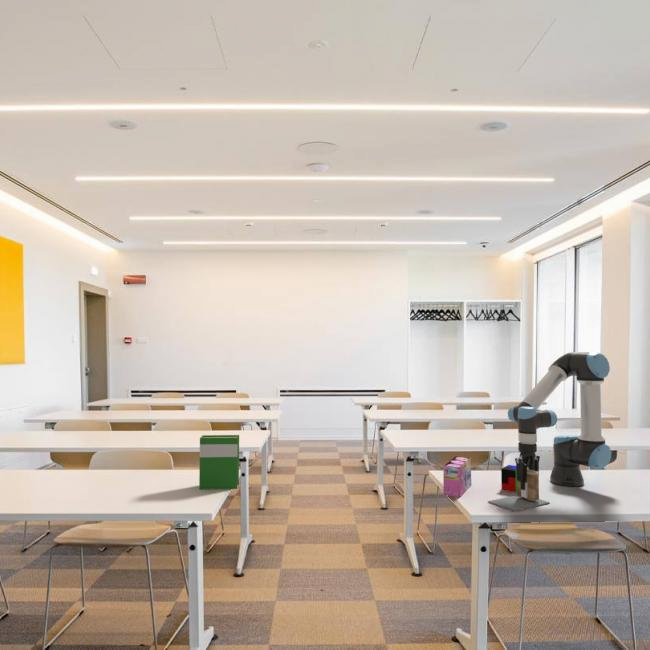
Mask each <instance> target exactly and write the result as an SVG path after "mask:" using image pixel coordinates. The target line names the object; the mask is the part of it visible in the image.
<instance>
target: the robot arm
mask: <svg viewBox="0 0 650 650" xmlns="http://www.w3.org/2000/svg"><path fill="white" fill-rule="evenodd" d="M610 369H611V367H610V363H609V360H608V358H607V357H606V355H604V354H602V353H599V352H594V351H590V352H585V351H584V352H578V351H571V352H567V353H565V354H563V355H561V356H560V357H559V358H557V359H556V360H555V361H554V362H552V363H551V364H550V366H548V371H547V372H546V373H545V375H544V376H543V377H542V378H541V379H540V380H539V381H538V383H537V384H536V385H535V386H534V387H533V388H532V389H531V390H530V392H529V393H528V394H526V396H525V397H524V399H522V401H521V402H520V403H519V404H518V405H513V406H510V407H509V409H508V411H507V417H508V419H509V421H510V422H513V423H516V424H517V427H518V431H517V432H518V448H517V449H518V451H519V452H520V454H519V457H515V458H514V461H515V466H516V473H517V481H520V483H521V497H525V498H528V496H527V482H526V477H527V469H530V470H534V471H538V472H539V473H540V466H539V465H540V458H541V457H540V455H537V454H536V453H537V451H538V449H537V446H538V445H537V442H538V441H537V439H538V436H537V435H538V434H537V432H538V431H537V429H540V428H541V429H542V428H551V427H554V426H556V425H557V422H558V416H557V413H556V412H554V411H553V410H551V409H539V408H541V406H542V405H543V404H544V403H545V401H546V400H547V399H548V398H549V397H550V396H551V394H553V392H554V391H555V389H557V387H558V386H559V385H560V384H561V383H562V382H565V381H566V380H567V379H569V378H570V377H576V381H577V382H578V384H579V387H580V391H579V392H580V393H579V394H580V395H579V396H580V397H579V399H580V400H579V401H580V435H577V434H576V435H575V434H574V435H573V434H572V435H566V434H565V435H556V436H554V437H553V444H552V445H553V447H552V448H553V467H552V469H551V470H552V471H551V473H550V477H549V478H550V480H549V481H550V482H551V483H553V484H556V485H560V486H564V487H581V486H584V485H585V479H584V477H583V473H582V471H581V467H580V466H585V467H588V468H591V469H597V470H598V469H599V470H600V469H604V468H606V467H607V466H608V464H609V463H610V461H611V458H612V450H611V447H610V445H607V444H606V438H604V437H603V435H602V403H601V402H602V401H601V399H602V398H601V395H602V394H601V384H603V383H604V382H605V378H607V377H608V375H609V373H610Z"/></svg>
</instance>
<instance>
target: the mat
mask: <svg viewBox="0 0 650 650" xmlns="http://www.w3.org/2000/svg"><path fill="white" fill-rule="evenodd" d="M487 503H488V504H491V505H493V504H494V506H497V507H500V508H501V509H504V510H508V511H510V510H511V512H520V511H523V510H527V509H532V508H537V507H541V506H546V505H549V504H550V502H549V501H546V500H543V499H540V498H539V500H535V501H531V500H528V499H525V498H522V497H518V494H517V495H511V496H507V497H503V498H501V497H500V498H496V499H491V500H488V501H487Z"/></svg>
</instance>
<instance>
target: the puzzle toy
mask: <svg viewBox="0 0 650 650" xmlns="http://www.w3.org/2000/svg"><path fill="white" fill-rule="evenodd" d="M500 469H501V472H500V474H501V477H500V478H501V480H500V481H501V491H505V492H510V491H511V492H510V493H516V494H518V491H517V473H516V465H513V464H508V465H505V466H504V467H502V468H500Z"/></svg>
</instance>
